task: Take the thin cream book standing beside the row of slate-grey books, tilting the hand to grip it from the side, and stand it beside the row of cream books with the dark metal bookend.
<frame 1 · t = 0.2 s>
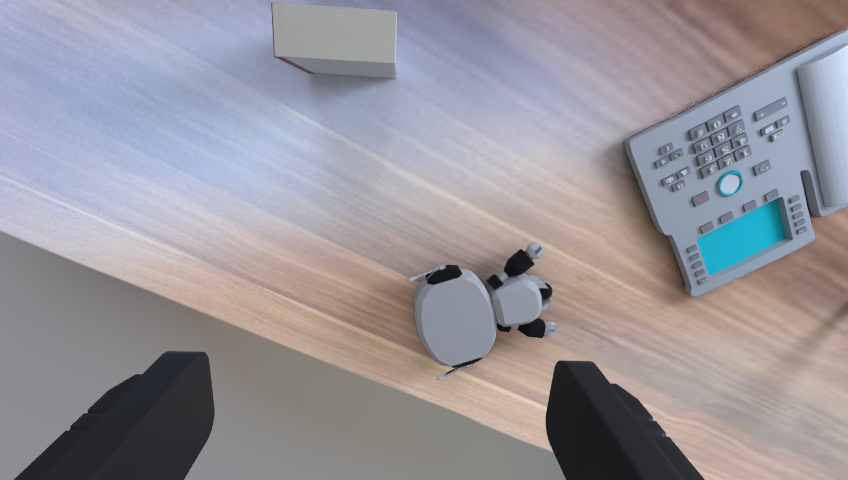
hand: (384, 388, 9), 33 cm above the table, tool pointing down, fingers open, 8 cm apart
office telephone: (751, 174, 43), on the table
cream book: (353, 57, 37), on the table
robot toy: (479, 297, 45), on the table
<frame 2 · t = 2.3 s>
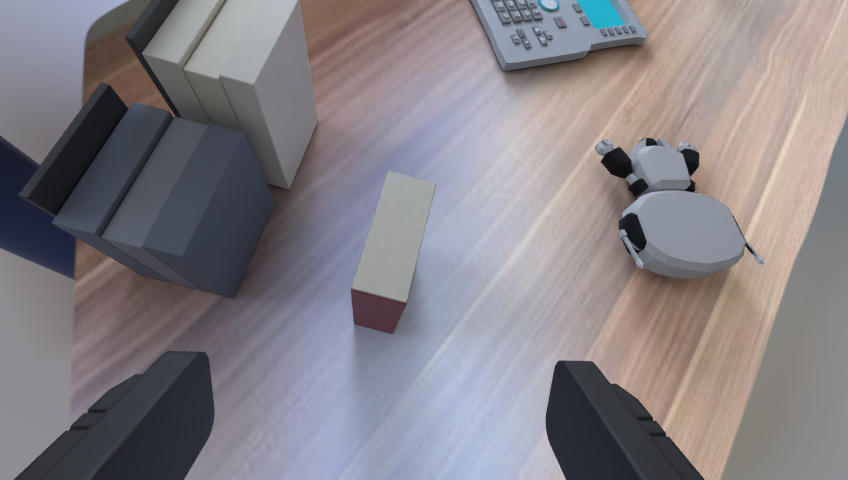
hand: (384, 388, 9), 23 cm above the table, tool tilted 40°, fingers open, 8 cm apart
white books: (268, 144, 38), on the table
grey books: (212, 236, 34), on the table
cream book: (386, 282, 34), on the table
robot toy: (649, 214, 41), on the table
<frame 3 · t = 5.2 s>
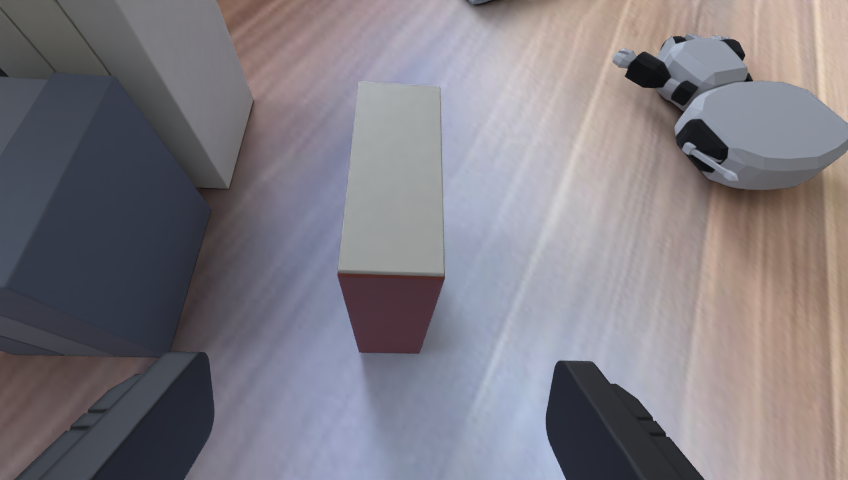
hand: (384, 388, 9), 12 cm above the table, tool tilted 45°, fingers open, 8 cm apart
white books: (190, 138, 27), on the table
grey books: (123, 274, 22), on the table
cream book: (392, 282, 24), on the table
robot toy: (701, 129, 32), on the table
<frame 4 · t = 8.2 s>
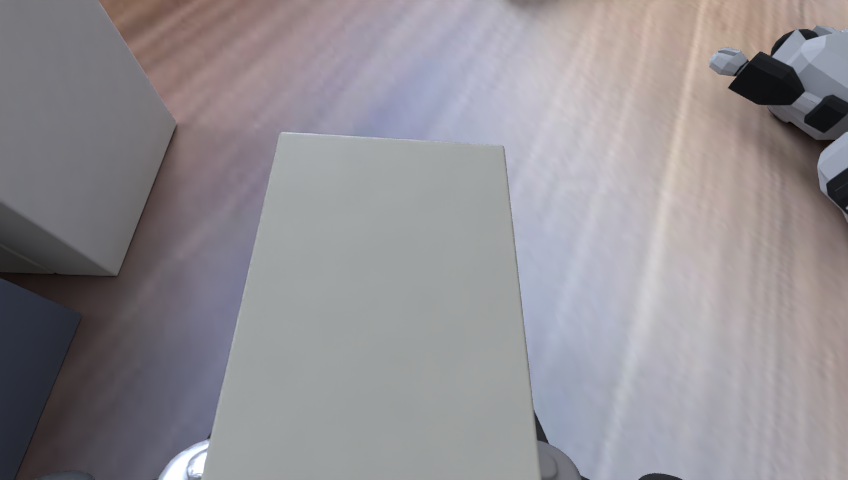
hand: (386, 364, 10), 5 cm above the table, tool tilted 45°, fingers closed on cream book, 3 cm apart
white books: (68, 187, 17), on the table
cream book: (384, 453, 14), on the table, touching gripper
robot toy: (838, 164, 22), on the table
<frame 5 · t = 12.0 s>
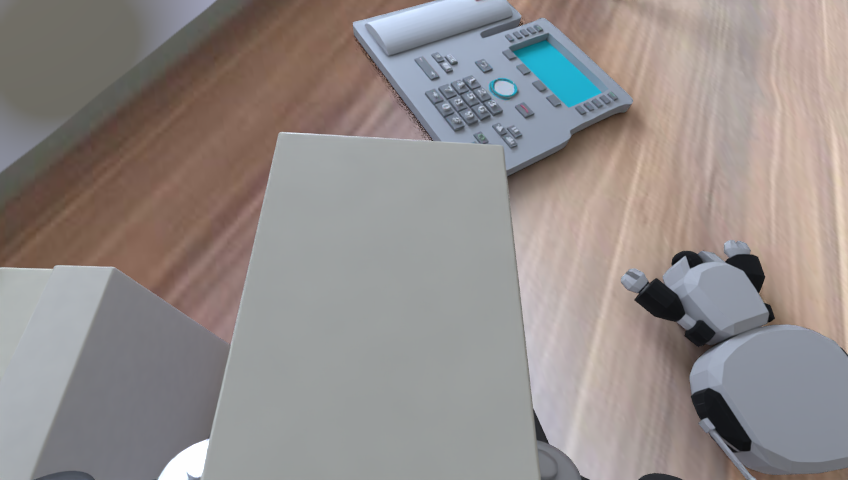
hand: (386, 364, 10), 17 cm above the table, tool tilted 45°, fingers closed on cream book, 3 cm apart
white books: (160, 408, 25), on the table
office telephone: (488, 75, 41), on the table
cream book: (384, 453, 14), point 13 cm above the table, touching gripper
robot toy: (717, 354, 30), on the table
when the fingers open (5 cm above the table, at t = 15.9 s): cream book stays where it is, on the table.
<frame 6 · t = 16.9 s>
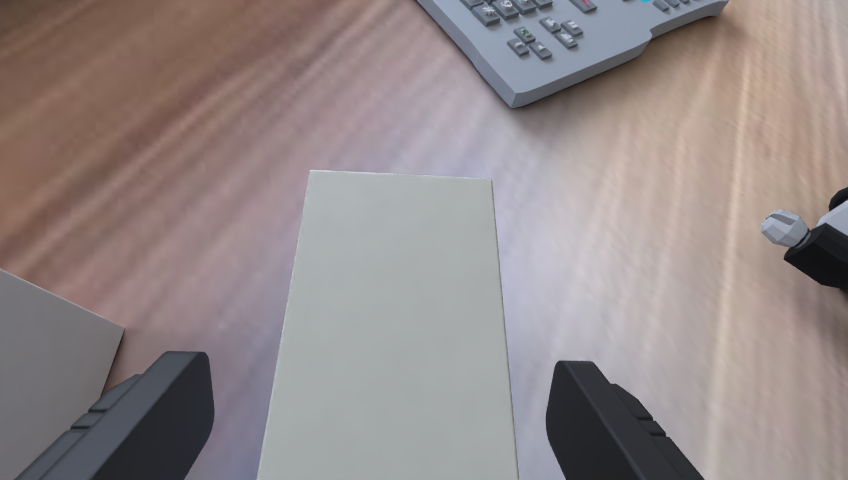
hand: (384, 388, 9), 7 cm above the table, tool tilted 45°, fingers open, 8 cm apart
cream book: (390, 442, 15), on the table
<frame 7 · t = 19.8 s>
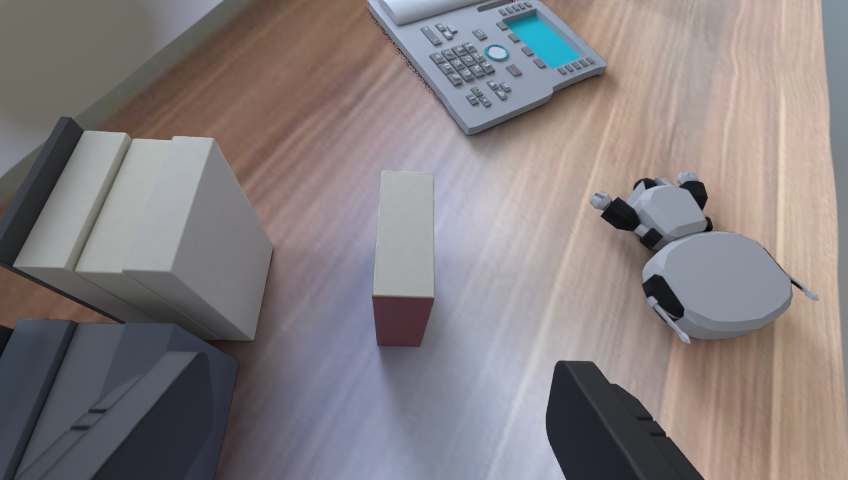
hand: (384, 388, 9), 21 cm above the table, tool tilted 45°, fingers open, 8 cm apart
white books: (220, 288, 31), on the table
office telephone: (484, 44, 48), on the table
grey books: (167, 430, 27), on the table
cream book: (400, 295, 32), on the table
robot toy: (668, 262, 36), on the table
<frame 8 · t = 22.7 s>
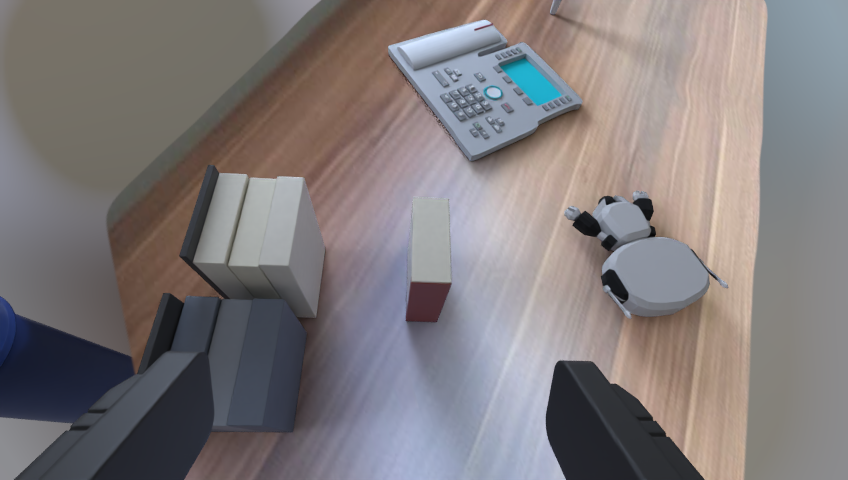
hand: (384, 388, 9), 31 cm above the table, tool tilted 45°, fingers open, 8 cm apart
pen: (551, 14, 68), on the table
white books: (288, 280, 42), on the table
office telephone: (483, 83, 59), on the table
grey books: (260, 378, 38), on the table
cream book: (421, 285, 43), on the table
robot toy: (624, 260, 47), on the table
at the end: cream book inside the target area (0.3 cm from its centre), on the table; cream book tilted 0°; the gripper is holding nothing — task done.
